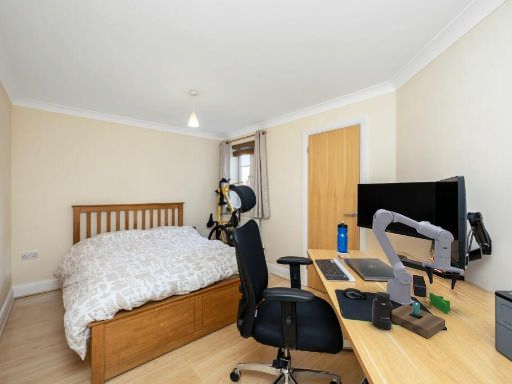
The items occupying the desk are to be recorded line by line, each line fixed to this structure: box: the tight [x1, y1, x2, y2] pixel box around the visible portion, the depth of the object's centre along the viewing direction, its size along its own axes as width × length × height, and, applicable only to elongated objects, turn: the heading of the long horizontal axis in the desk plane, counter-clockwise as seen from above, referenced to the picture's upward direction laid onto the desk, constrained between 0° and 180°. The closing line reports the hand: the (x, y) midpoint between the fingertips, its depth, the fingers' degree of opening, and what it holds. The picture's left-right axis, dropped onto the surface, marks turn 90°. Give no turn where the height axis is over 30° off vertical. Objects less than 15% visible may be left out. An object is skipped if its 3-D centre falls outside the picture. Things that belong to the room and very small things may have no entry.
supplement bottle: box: [371, 291, 394, 331], centre depth 90 cm, size 7×7×12 cm
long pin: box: [411, 301, 421, 319], centre depth 92 cm, size 2×2×8 cm
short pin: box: [423, 296, 432, 310], centre depth 105 cm, size 2×2×4 cm
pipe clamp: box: [428, 292, 451, 315], centre depth 104 cm, size 11×4×5 cm, turn 173°
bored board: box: [392, 304, 446, 340], centre depth 92 cm, size 14×14×3 cm
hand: (441, 286), depth 105 cm, fingers open, 7 cm apart
